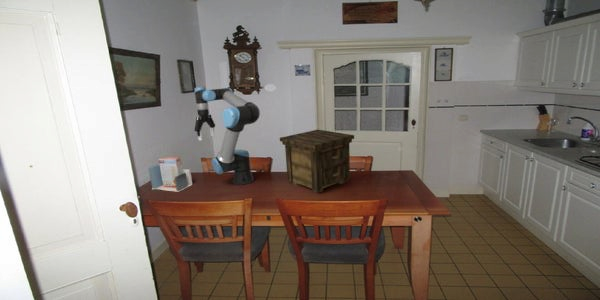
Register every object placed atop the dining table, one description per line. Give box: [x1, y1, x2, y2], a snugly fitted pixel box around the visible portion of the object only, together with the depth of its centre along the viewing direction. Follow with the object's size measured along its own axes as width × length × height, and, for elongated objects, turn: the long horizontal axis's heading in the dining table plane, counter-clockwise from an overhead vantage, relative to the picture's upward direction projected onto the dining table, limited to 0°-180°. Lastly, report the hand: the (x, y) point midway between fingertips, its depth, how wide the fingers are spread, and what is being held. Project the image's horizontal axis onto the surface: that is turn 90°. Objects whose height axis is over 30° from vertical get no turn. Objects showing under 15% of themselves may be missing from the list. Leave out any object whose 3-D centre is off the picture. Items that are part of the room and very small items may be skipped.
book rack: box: [148, 163, 193, 192], centre depth 214 cm, size 24×14×16 cm, turn 67°
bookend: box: [175, 173, 189, 192], centre depth 209 cm, size 2×9×10 cm, turn 157°
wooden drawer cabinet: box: [279, 129, 355, 194], centre depth 206 cm, size 35×35×33 cm
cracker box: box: [158, 156, 183, 188], centre depth 214 cm, size 14×6×21 cm, turn 74°
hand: (206, 138), depth 222 cm, fingers open, 13 cm apart
